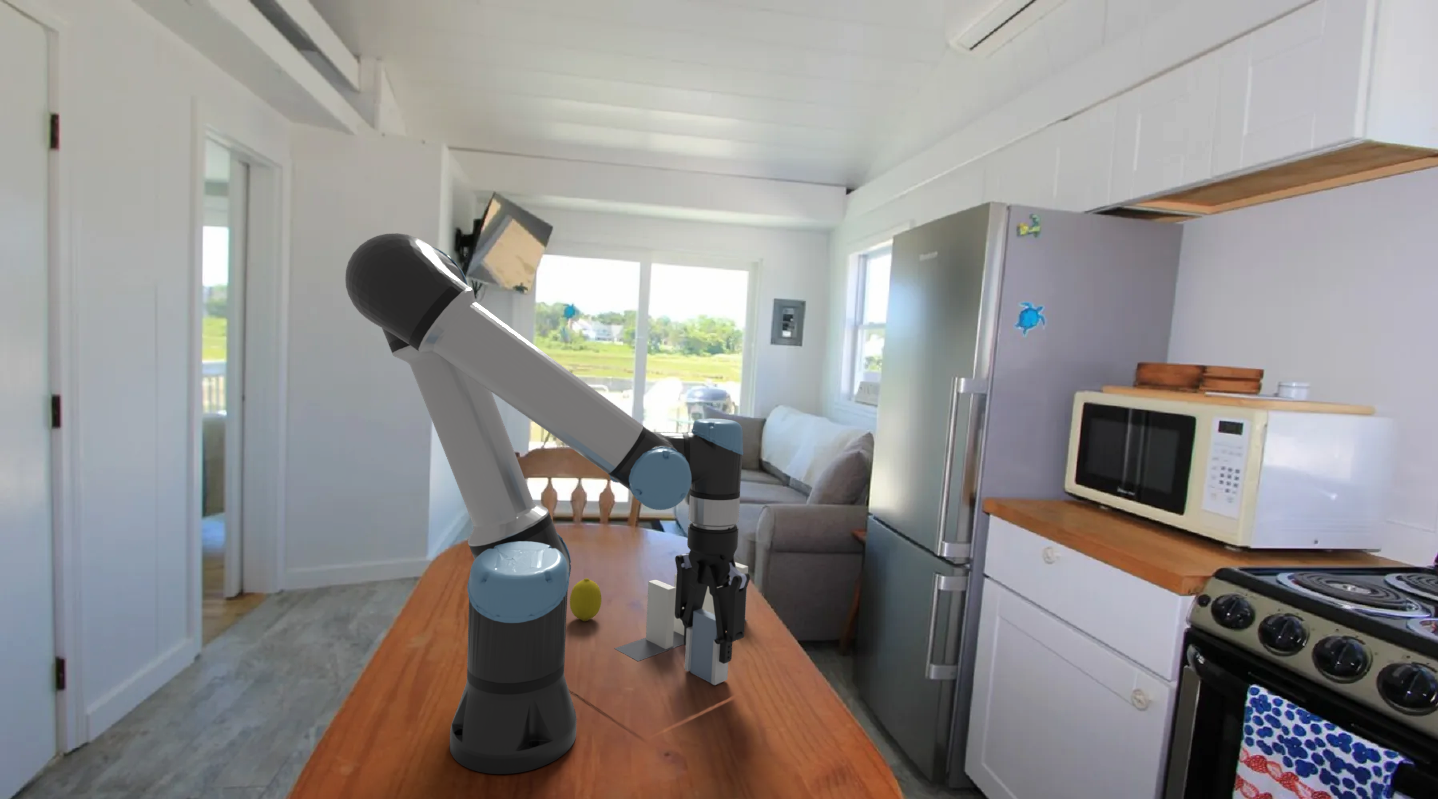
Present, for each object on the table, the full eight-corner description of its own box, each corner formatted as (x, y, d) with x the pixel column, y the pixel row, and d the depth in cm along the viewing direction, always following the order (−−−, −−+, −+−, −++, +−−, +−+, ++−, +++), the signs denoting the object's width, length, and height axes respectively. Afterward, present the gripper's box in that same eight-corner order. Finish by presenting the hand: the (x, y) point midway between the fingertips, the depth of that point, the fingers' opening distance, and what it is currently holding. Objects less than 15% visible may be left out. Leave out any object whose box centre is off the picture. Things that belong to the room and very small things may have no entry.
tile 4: (716, 630, 122) (719, 574, 122) (696, 621, 126) (699, 567, 125) (722, 627, 123) (725, 573, 123) (702, 619, 127) (705, 565, 126)
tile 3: (691, 639, 118) (694, 581, 117) (672, 630, 121) (674, 574, 121) (698, 636, 119) (701, 580, 118) (678, 627, 123) (681, 572, 122)
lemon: (606, 622, 124) (608, 579, 124) (581, 630, 120) (582, 585, 120) (588, 613, 128) (589, 571, 127) (562, 621, 124) (564, 577, 123)
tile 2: (665, 649, 114) (668, 589, 113) (645, 639, 117) (648, 581, 116) (672, 646, 115) (675, 587, 114) (653, 636, 118) (655, 579, 118)
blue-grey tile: (713, 686, 103) (717, 621, 102) (690, 674, 106) (693, 611, 105) (721, 683, 104) (724, 618, 103) (697, 671, 107) (700, 608, 107)
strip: (637, 663, 109) (638, 661, 109) (614, 650, 113) (614, 648, 113) (747, 622, 128) (747, 620, 128) (724, 612, 132) (724, 610, 132)
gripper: (776, 532, 100) (767, 688, 101) (689, 508, 112) (683, 647, 114) (741, 541, 94) (732, 706, 96) (654, 514, 107) (647, 661, 108)
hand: (705, 674), depth 105 cm, fingers closed on blue-grey tile, 5 cm apart
